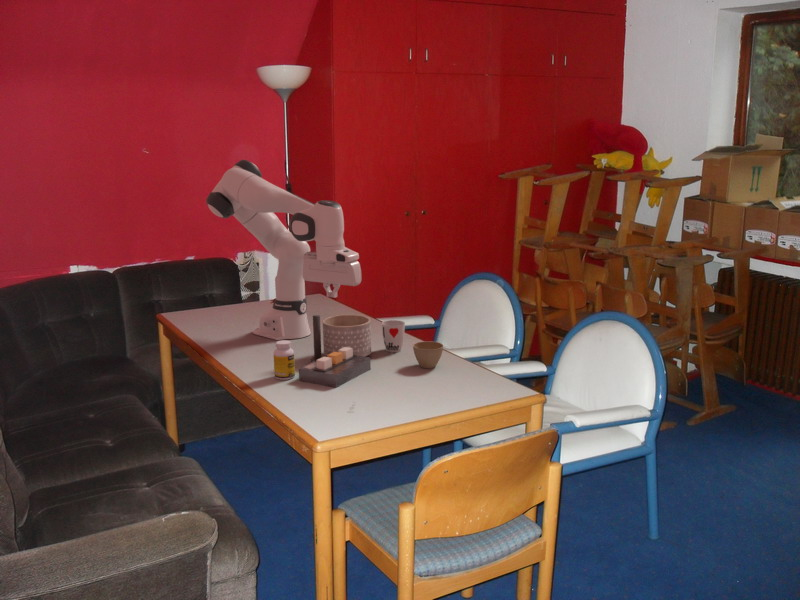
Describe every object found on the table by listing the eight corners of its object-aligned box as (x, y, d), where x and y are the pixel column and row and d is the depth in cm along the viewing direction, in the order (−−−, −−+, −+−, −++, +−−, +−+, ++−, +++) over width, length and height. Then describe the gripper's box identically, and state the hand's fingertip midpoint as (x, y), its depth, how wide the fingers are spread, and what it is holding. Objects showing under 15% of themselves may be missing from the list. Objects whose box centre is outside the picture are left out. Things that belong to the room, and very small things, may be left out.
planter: (380, 356, 261) (379, 321, 258) (340, 366, 251) (339, 329, 248) (354, 346, 273) (353, 312, 270) (314, 354, 264) (313, 319, 261)
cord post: (307, 362, 255) (305, 316, 251) (316, 358, 259) (314, 313, 255) (319, 364, 252) (318, 318, 249) (328, 360, 257) (326, 315, 253)
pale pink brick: (338, 358, 245) (338, 350, 245) (345, 355, 249) (345, 346, 248) (346, 359, 244) (345, 351, 243) (352, 356, 247) (352, 348, 247)
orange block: (327, 363, 240) (327, 354, 240) (334, 359, 244) (334, 351, 243) (335, 364, 239) (335, 356, 238) (342, 361, 242) (342, 352, 242)
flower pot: (433, 372, 243) (433, 351, 242) (407, 367, 249) (407, 346, 247) (448, 364, 252) (448, 343, 250) (423, 359, 257) (422, 339, 255)
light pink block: (316, 368, 235) (316, 360, 235) (324, 365, 239) (323, 356, 238) (324, 370, 234) (324, 361, 233) (331, 366, 237) (331, 357, 236)
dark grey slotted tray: (299, 380, 237) (298, 367, 236) (335, 363, 254) (334, 350, 253) (336, 387, 230) (335, 374, 229) (370, 369, 247) (370, 356, 246)
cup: (378, 351, 266) (377, 324, 264) (389, 345, 273) (388, 319, 271) (398, 354, 262) (398, 327, 260) (409, 348, 269) (408, 321, 267)
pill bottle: (286, 381, 236) (284, 346, 233) (270, 378, 239) (268, 343, 237) (299, 376, 241) (297, 341, 239) (283, 372, 245) (282, 338, 242)
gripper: (297, 252, 236) (299, 295, 239) (352, 257, 226) (353, 302, 230) (309, 249, 241) (310, 291, 245) (363, 254, 232) (364, 298, 235)
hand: (332, 297), depth 237 cm, fingers closed
